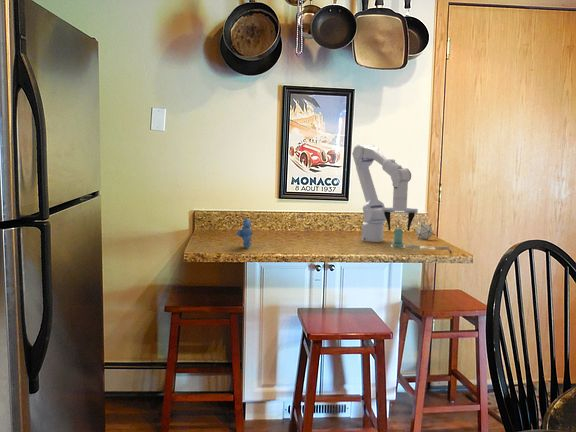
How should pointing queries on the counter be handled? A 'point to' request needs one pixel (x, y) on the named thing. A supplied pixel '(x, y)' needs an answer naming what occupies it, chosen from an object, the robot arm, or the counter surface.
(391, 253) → the counter surface
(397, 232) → the pawn
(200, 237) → the counter surface
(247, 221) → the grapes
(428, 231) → the grey spiky ball
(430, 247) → the board
